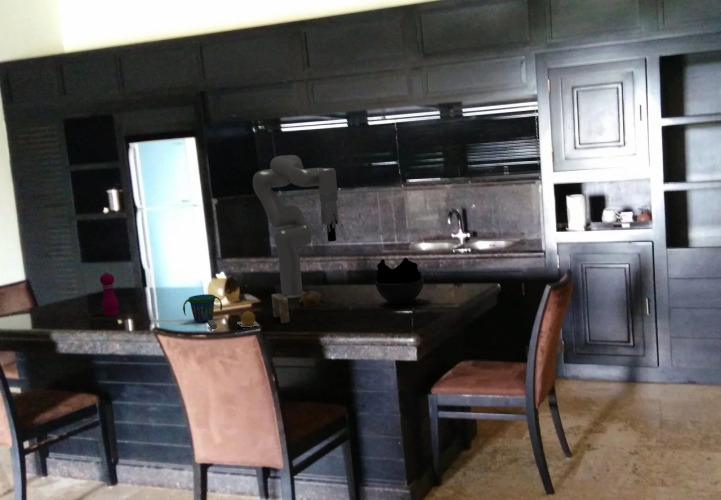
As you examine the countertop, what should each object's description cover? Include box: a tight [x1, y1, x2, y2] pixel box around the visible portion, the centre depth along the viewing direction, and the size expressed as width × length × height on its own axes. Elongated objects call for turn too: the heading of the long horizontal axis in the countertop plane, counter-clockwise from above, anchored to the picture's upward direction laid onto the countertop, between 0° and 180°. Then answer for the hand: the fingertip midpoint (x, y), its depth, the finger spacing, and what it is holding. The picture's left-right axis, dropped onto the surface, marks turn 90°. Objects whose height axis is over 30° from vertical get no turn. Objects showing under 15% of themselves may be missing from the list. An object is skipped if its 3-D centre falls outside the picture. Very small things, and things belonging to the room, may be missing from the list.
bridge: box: [271, 292, 290, 324], centre depth 303 cm, size 3×14×9 cm, turn 19°
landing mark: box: [237, 320, 261, 328], centre depth 298 cm, size 12×12×1 cm
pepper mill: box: [99, 269, 120, 317], centre depth 338 cm, size 7×7×20 cm
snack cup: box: [182, 293, 223, 323], centre depth 310 cm, size 16×10×10 cm
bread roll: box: [298, 290, 325, 308], centre depth 327 cm, size 10×10×8 cm
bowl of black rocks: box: [374, 257, 425, 305], centre depth 314 cm, size 20×20×19 cm
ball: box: [240, 310, 256, 325], centre depth 297 cm, size 6×6×6 cm
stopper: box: [207, 319, 218, 330], centre depth 296 cm, size 9×2×2 cm, turn 19°
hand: (332, 241), depth 322 cm, fingers closed
